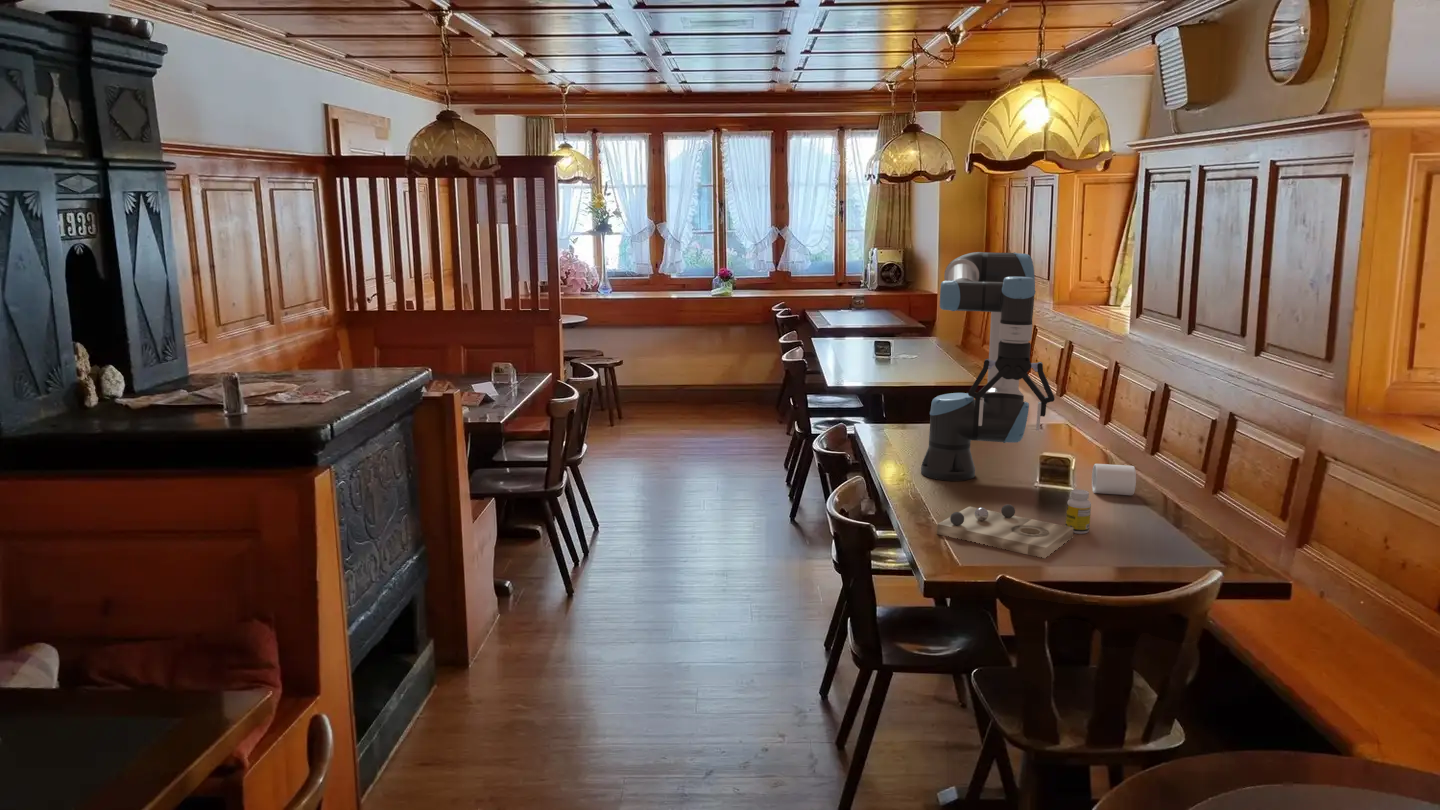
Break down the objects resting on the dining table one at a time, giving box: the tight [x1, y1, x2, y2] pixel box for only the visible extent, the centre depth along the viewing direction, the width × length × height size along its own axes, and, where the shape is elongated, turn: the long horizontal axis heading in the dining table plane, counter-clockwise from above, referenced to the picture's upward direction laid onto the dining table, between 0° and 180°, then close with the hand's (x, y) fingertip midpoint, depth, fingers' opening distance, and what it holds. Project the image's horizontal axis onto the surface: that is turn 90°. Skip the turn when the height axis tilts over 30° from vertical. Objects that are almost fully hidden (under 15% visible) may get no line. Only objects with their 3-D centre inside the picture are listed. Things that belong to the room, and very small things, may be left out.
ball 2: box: [1000, 504, 1016, 518], centre depth 243 cm, size 3×3×3 cm
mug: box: [1091, 463, 1137, 496], centre depth 275 cm, size 12×10×8 cm
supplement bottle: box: [1064, 488, 1092, 535], centre depth 242 cm, size 5×5×10 cm
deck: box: [936, 505, 1074, 559], centre depth 238 cm, size 26×18×2 cm
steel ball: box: [975, 507, 988, 521], centre depth 241 cm, size 3×3×3 cm
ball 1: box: [949, 511, 964, 526], centre depth 237 cm, size 3×3×3 cm
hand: (1008, 427), depth 248 cm, fingers open, 13 cm apart
